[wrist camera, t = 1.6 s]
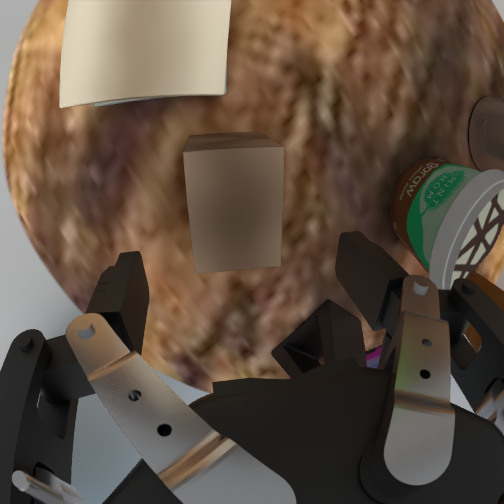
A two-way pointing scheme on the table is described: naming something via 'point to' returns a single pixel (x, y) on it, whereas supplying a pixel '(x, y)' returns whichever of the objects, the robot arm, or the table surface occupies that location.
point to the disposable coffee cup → (495, 294)
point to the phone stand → (322, 341)
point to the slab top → (143, 49)
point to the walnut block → (234, 200)
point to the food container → (447, 216)
